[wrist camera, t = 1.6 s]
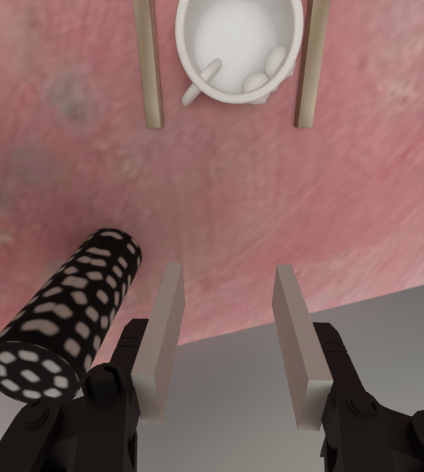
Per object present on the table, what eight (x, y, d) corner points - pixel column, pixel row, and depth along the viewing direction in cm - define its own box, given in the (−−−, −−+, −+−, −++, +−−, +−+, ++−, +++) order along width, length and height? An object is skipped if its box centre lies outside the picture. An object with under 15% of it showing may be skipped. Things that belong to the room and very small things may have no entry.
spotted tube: (153, 262, 42) (99, 389, 24) (110, 284, 44) (33, 415, 27) (117, 218, 39) (25, 326, 21) (73, 244, 41) (-42, 362, 24)
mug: (223, 138, 34) (221, 154, 26) (155, 67, 31) (130, 60, 23) (306, 52, 29) (336, 38, 21) (237, -41, 26) (242, -97, 18)
